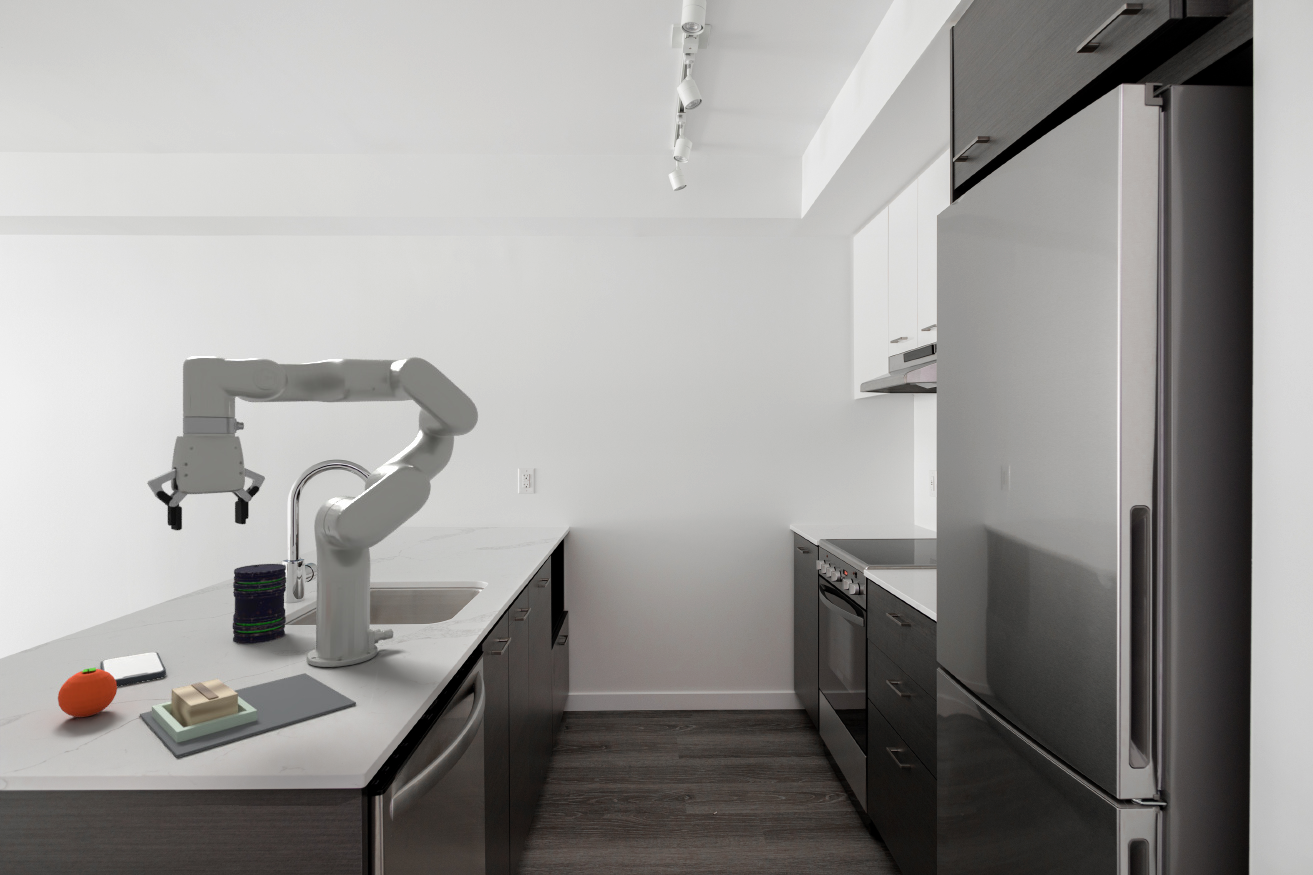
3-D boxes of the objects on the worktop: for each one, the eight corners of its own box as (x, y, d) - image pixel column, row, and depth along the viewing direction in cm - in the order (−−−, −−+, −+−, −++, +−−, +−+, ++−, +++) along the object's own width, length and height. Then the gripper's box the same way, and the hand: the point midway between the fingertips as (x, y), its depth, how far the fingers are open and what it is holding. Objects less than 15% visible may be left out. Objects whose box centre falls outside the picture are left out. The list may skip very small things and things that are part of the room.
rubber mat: (304, 675, 119) (304, 673, 119) (355, 704, 106) (355, 702, 106) (139, 716, 101) (139, 713, 101) (176, 757, 88) (176, 754, 88)
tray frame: (226, 696, 108) (227, 687, 108) (256, 720, 99) (256, 710, 99) (151, 715, 100) (151, 705, 100) (176, 742, 91) (177, 731, 91)
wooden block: (237, 720, 99) (238, 692, 99) (190, 733, 94) (190, 704, 94) (216, 703, 105) (217, 677, 105) (171, 715, 100) (171, 687, 100)
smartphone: (99, 668, 123) (102, 691, 111) (99, 659, 123) (102, 681, 111) (158, 658, 129) (167, 679, 117) (158, 650, 129) (167, 670, 117)
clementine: (61, 710, 103) (62, 665, 103) (118, 700, 107) (119, 656, 107) (54, 728, 96) (54, 680, 96) (115, 717, 100) (116, 670, 100)
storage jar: (292, 636, 142) (293, 567, 142) (241, 647, 135) (242, 574, 135) (275, 627, 149) (276, 561, 149) (225, 637, 141) (226, 567, 141)
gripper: (255, 429, 123) (255, 519, 123) (141, 428, 110) (141, 530, 110) (272, 428, 119) (272, 523, 119) (155, 427, 105) (155, 534, 105)
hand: (209, 526), depth 114 cm, fingers open, 9 cm apart
